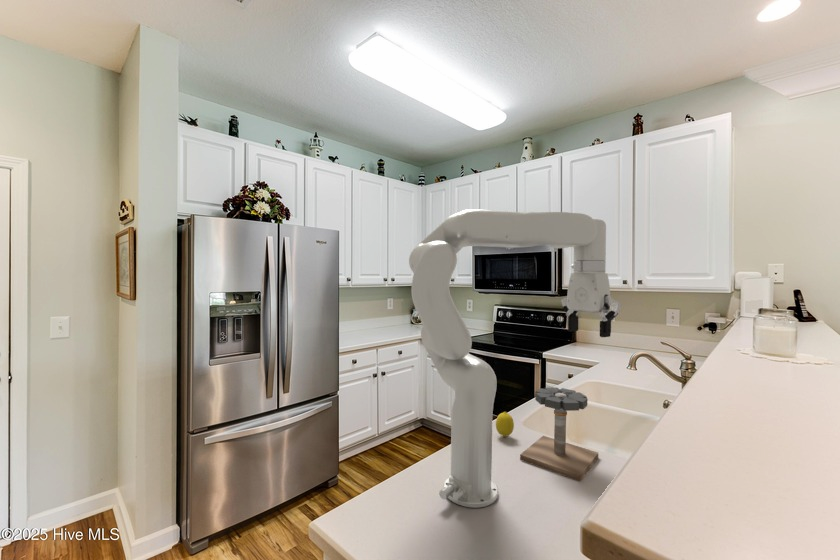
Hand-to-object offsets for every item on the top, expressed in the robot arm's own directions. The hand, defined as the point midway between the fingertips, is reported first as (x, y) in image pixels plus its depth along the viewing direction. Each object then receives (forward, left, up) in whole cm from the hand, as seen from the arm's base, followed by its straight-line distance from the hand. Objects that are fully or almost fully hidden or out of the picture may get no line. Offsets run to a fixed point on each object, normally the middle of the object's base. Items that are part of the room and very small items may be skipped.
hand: (588, 333), depth 95 cm
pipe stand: (+2, +8, -36) cm, 37 cm away
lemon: (+4, +26, -36) cm, 45 cm away
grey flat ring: (+2, +8, -20) cm, 22 cm away
